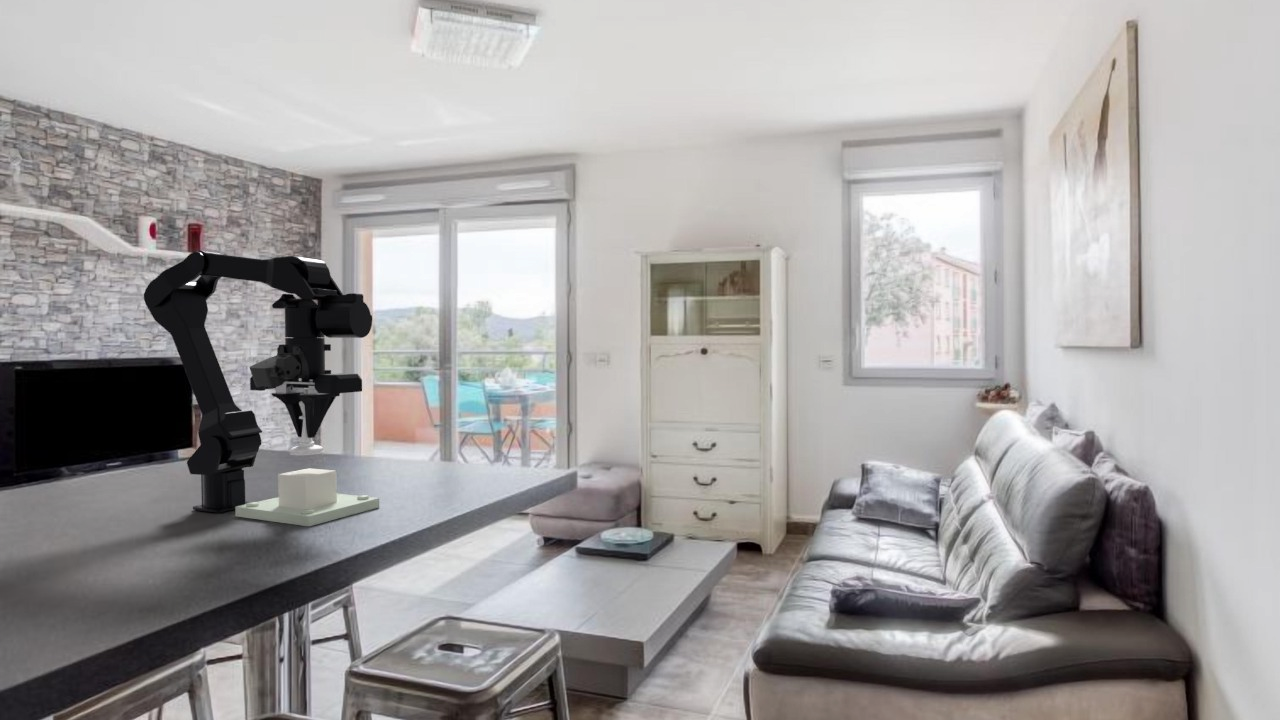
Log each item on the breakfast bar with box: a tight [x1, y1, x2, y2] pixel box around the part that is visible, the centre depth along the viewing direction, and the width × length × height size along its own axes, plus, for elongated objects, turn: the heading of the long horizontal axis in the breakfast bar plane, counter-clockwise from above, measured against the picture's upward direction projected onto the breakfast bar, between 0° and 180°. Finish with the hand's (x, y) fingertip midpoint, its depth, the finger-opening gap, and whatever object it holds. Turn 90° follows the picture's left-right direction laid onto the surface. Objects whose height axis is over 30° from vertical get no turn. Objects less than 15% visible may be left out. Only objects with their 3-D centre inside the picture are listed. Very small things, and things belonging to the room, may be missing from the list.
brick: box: [277, 467, 338, 509], centre depth 122 cm, size 6×6×5 cm
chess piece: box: [289, 388, 324, 456], centre depth 122 cm, size 5×5×10 cm
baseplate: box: [234, 493, 380, 527], centre depth 123 cm, size 16×14×2 cm
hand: (306, 437), depth 122 cm, fingers closed on chess piece
